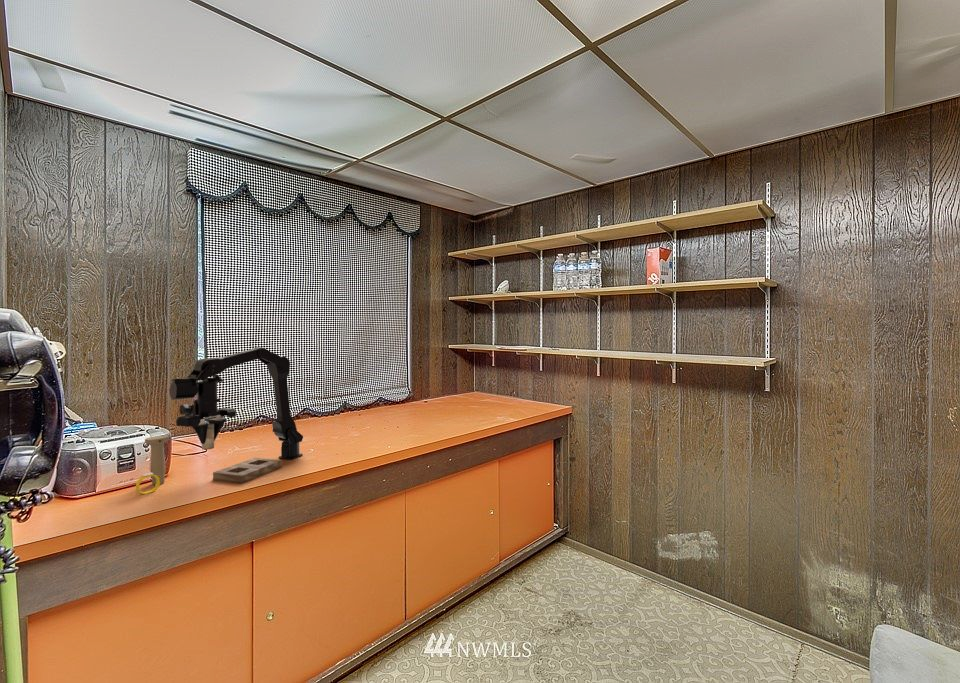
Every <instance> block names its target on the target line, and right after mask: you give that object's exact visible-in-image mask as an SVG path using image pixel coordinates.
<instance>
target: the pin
mask: <svg viewBox="0 0 960 683" xmlns="http://www.w3.org/2000/svg"><path fill="white" fill-rule="evenodd" d="M207 424H208V429H207V435H206V440H205V444H201V450H203V451H204V450H208V451H209V450H213V449H215V441H214V424H209V423H207Z"/></svg>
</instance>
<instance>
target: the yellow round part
mask: <svg viewBox="0 0 960 683" xmlns="http://www.w3.org/2000/svg"><path fill="white" fill-rule="evenodd" d="M151 476H154V477H155V478H156V482H157V483H156V485H154V487H153V488H152V489H151V490H148V491H145V492H143V491H141V489H140V484H141V483H142V481H143V480H144V479H146V478H151ZM160 485H161V484H160V479H159V478H158V476H157V475H153V473H151V472H146V473H142V474H141V476H140V478H139V479H138V480H137V481H136V483H135V490H136V491H137V493H139V494H142V495H148V494H151V493H154V492H156V491H157V490H158V488H159V487H160Z"/></svg>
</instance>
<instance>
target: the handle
mask: <svg viewBox="0 0 960 683" xmlns="http://www.w3.org/2000/svg"><path fill="white" fill-rule="evenodd" d="M168 441H170V435H166V434H165V435H156V436H150V437H146V438H145V439H144V443H145V444H147V445H149V446H150V462H149V463H150V465H149V467H150V468H149V469H150V470H149V473H153V475H157V476H158V478H159V479H160V484H159V485H161V484H164V483H165V480H166V479H165V477H166V460H165V446H164V445H165V444H166V443H167V442H168ZM150 479H151V484H152V485H154V486H155V485H156V483H157V482H156V478H155V477H154V476H151V477H150Z"/></svg>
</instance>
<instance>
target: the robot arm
mask: <svg viewBox="0 0 960 683" xmlns="http://www.w3.org/2000/svg"><path fill="white" fill-rule="evenodd" d="M256 360H258V361H260V362H261V363H262V364H264V365H266V367H267V370H268V373H269V375H270V378H272V381H273V389H274V400H275V407H276V419H275V420H272V421H271V425H272V433H274V436H276V437H277V438H278V441H280V442H281V448H280V454H281V455H280V456H278V459H284V460H285V459H286V460H293V459H297V458H299V457H302V456H303V453H300V443H301V442H303V439H304V435H303V434H301V432H299V431H298V428H297V424H296V422H295V420H294V418H293V416H292V414H291V407H290V404H291V403H290V396H289V388H288V377H289V374H290V371H291V362H290V359H289V358H288V357H285V356H282V355H278V354H276V353H274V352H272V351H270V350H268V349H267V348H265V347H262V346H259V347H258V346H256V347H254V348H252V349H248V350H247V349H246V350H244V351H240V352H236V353H233V354H229V355H226V356H221V357H220V356H219V357H206V358H200V359H198V360H197V361H196V363H195V364H194V367H193V369H192V370H191V371H190V373H189V374H188V376H187V377H183V378H181V377H180V378H178V377H177V378H176V377H175V378H172V380H171V381H172V382H171V383H170V385H169V386H170V387H169V397H170V398H171V400H172V401H177V400H184V399H185V400H186V399H193V398H195V396H196V397H197V399H194V401H193V404H192V405H191V404H188V403H186V404H180V405H179V415H181V416H178V417H177V419H176V420H175V423H176V425H175V426H177V427H184V428H185V427H186V428H187V427H189V428H190V427H191V428H193V430H194V431H195V433H196V435H197V437H198V439H199V441H200V444H201V445H202V444H205V440H206V435H207V429H208V424H214V442H215V441H216V439H217V437H218V435H219V433H220V431H221V429H222V427H223V426H224V424H225V423H226V422H227V421H228V419H226V418H225V417H227V418H236V417H237V411H236V410H235V408H230V407H229V408H228V407H222V408H218V403H219V402H220V403H221V398H218V383H223V382H225V380H224V379H223V378H222V377H220V376H219V374H221V373H223V372H225V371H226V370H227V369H229V368H232V367H236V366H238V365H242V364H245V363H248V362H251V361H253V362H254V361H256ZM206 421H207V422H208V423H206Z"/></svg>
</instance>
